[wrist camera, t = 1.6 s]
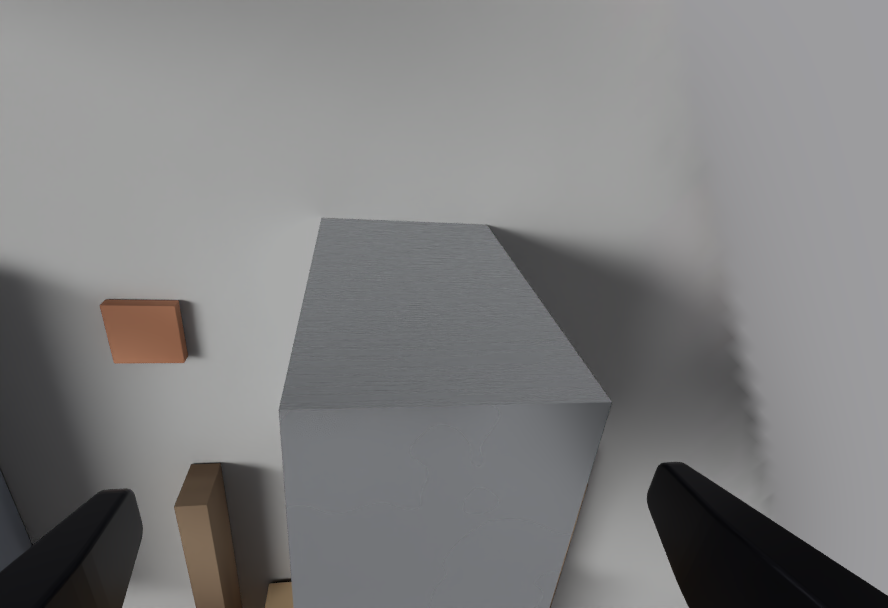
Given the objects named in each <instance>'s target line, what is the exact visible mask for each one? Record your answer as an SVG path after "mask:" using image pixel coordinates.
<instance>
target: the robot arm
mask: <svg viewBox="0 0 888 608" xmlns="http://www.w3.org/2000/svg"><path fill="white" fill-rule="evenodd" d="M647 504H648V508H649V510H650V513H651V516H652V518H653V521H654V523H655V526H656V529H657V531H658V534H659V536H660V539H661V542H662V544H663V547H664V549H665V552H666V555H667V557H668V560H669V562H670V565H671V568H672V570H673V573H674V575H675V578H676V580H677V583H678V585H679V587H680V590H681V592H682V594H683V596H684V598H685V600H686V602H687V605H688V607H689V608H888V596H887V595H886V594H884V593H882V592H881V591H880V590H878V589H877V588H875V587H873V586H872V585H870V584H869V583H867V582H866V581H864V580H863V579H861V578H860V577H858V576H857V575H855V574H854V573H852V572H850V571H849V570H847V569H846V568H844V567H843V566H841V565H840V564H838V563H836V562H835V561H833V560H832V559H830V558H829V557H827V556H826V555H824V554H823V553H821V552H820V551H818V550H816V549H815V548H814V547H812V546H811V545H809V544H807V543H806V542H804V541H803V540H801V539H800V538H798V537H797V536H795V535H794V534H792V533H791V532H789V531H787V530H786V529H784V528H783V527H781V526H780V525H778V524H777V523H775V522H774V521H772V520H771V519H769V518H768V517H766V516H765V515H763V514H761V513H760V512H758V511H757V510H755V509H754V508H752V507H751V506H749V505H748V504H746V503H745V502H743V501H741V500H740V499H738V498H737V497H735V496H734V495H732V494H731V493H729V492H728V491H726V490H725V489H723V488H722V487H720V486H718V485H717V484H715V483H714V482H712V481H711V480H709V479H708V478H706V477H705V476H703V475H702V474H700V473H699V472H697V471H695V470H694V469H692V468H691V467H689V466H688V465H686V464H684V463H682V462H666V463H661V464H660V465H659V466H658V467H657V469H656V472H655V474H654V477H653V479H652V482H651V485H650V487H649V490H648V493H647ZM142 532H143V525H142V521H141V517H140V513H139V509H138V505H137V501H136V498H135V495H134V492H133V491H132V490H131V489H108V490H103V491H100V492H99V493H97V494H96V495H94V496H93V497H92V498H91V499H89V500H88V501H87V502H86V503H84V504H83V505H82V506H81V507H79V508H78V509H77V510H76V511H75V512H73V513H72V514H71V515H70V516H68V517H67V518H66V519H65V520H63V521H62V522H61V523H60V524H58V525H57V526H56V527H55V528H54V529H52V530H51V531H50V532H49V533H47V534H46V535H45V536H44V537H42V538H41V539H40V540H39V541H37V542H36V543H35V544H34V545H33V546H31V547H30V548H29V549H28V550H26V551H25V552H24V553H23V554H21V555H20V556H19V557H18V558H16V559H15V560H14V561H13V562H12V563H10V564H9V565H8V566H7V567H5V568H4V569H3V570H2V571H0V608H122V606H123V602H124V599H125V595H126V592H127V588H128V585H129V581H130V578H131V574H132V571H133V567H134V564H135V560H136V557H137V553H138V550H139V546H140V543H141V539H142Z"/></svg>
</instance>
